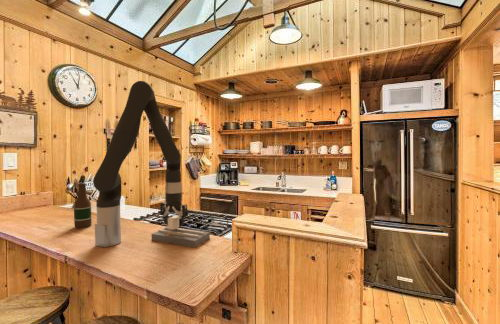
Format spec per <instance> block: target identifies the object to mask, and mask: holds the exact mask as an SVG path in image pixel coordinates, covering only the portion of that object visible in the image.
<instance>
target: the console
mask: <svg viewBox="0 0 500 324" xmlns="http://www.w3.org/2000/svg"><path fill="white" fill-rule="evenodd" d="M210 234H211V232H210V231H202V230H198V229H197V230H195V229H190V228H189V229H188V228H181V227H178V228H177V231H176V232H175V231H171V229H168V226H164V228H162V229H160V228H159V229H158V231H155V232H153V233H151V241H154V240H155V241H156V242H159V241H160V242H161V243H165V242H166V244H171V243H172V244H173V245H178V246H184V247H189V248H194V249H196V248H197V247H199V246H200V245H202V244H204V243H205V242H207V241H208V240H210V238H211V237H210V236H211V235H210ZM155 241H154V242H155Z"/></svg>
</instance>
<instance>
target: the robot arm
mask: <svg viewBox="0 0 500 324" xmlns="http://www.w3.org/2000/svg"><path fill="white" fill-rule="evenodd" d="M125 104H126V105H125V107H124V109H123V112H122V113H121V115H120V117H119V119H118V122H117V125H116V127H115V129H114V131H113V133H112V136H111V138H110V142H109V144H108V147H107V150H106V153H105V155H104V157H103V158H104V159H103V160H102V162H101V164H100V166H99V167H98V169H97V170H96V173H95V175H94V177H93V179H92V180H93V187H94V188H95V190H97V191H98V196H97V199H96V223H95V224H94V244H95V247H101V248H107V247H112V246H116V245H118V244H120V243H121V242H122V228H121V227H122V226H121V199H122V177H121V175H120V174H121V173H119V172H120V169H121V166H122V164H123V163H124V161H125V160H126V158H127V157H128V156H129V153H130V152H131V151H132V149H133V147H134V145H135V143H136V141H137V137H138V135H139V132H140V126H141V122H142V121H141V119H142V115H143V113H145V115H146V117H147V120H148V123H149V125H150V128H151V131H152V134H153V135H154V137H155V140H156V141H157V144H158V146H159V147H160V150H161V153H162V155H163V158H164V160H165V162H166V163H165V164H166V165H165V166H166V171H165V186H164V191H165V193H164V195H165V197H164V198H165V199H164V201H163V202H160V209H159V211H160V212H159V213H160V216H163V223H164V225H168V218H170V216H169V215H170V213H171V214H176V216H179V218H180V219H179V226H180V227H179V228H181V227H183V226H184V225H185V218H186V217H187V218H188V217H189V216H188V215H189V211H188V204H187V203H185V204H182V200H183V198H182V197H183V195H182V193H183V191H182V190H183V188H182V187H183V185H182V173H181V164H182V163H181V162H182V155H181V152H180V150H179V149H178V148H177V145H176V143H175V141H174V139H173V136H172V133H171V131H170V129H169V127H168V125H167V123H166V121H165V119H164V118H163V116H162V114H161V111H160V109H159V106H158V103H157V100H156V95H155V91H154V89H153V87H152V86H151V85H150V84H149V83H148V82H146V81H144V80H137V81H136V82H134V83H133V84H132V85H131V87H130V88H129V92H128V97H127V100H126V103H125Z"/></svg>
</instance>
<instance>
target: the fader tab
mask: <svg viewBox="0 0 500 324" xmlns="http://www.w3.org/2000/svg"><path fill="white" fill-rule="evenodd" d="M179 219H180V218H179V216H178V215H173V216H169V218H168V224H167V227H168V229H171V231H175V232H176V231H177V228H181V227H180V226H179Z"/></svg>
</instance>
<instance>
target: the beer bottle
mask: <svg viewBox="0 0 500 324" xmlns="http://www.w3.org/2000/svg"><path fill="white" fill-rule="evenodd" d="M77 186H78V191H77V198H76V200H75V202H74V203H73V217H74V219H73V223H74V225H73V226H74V229H77V230H78V229H82V230H83V229H86V228H90V227H91V226H92V202H91V201H90V199H89V198H88V196H87V189H86V188H87V187H86V186H87V183H85V182H80V183H77Z"/></svg>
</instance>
